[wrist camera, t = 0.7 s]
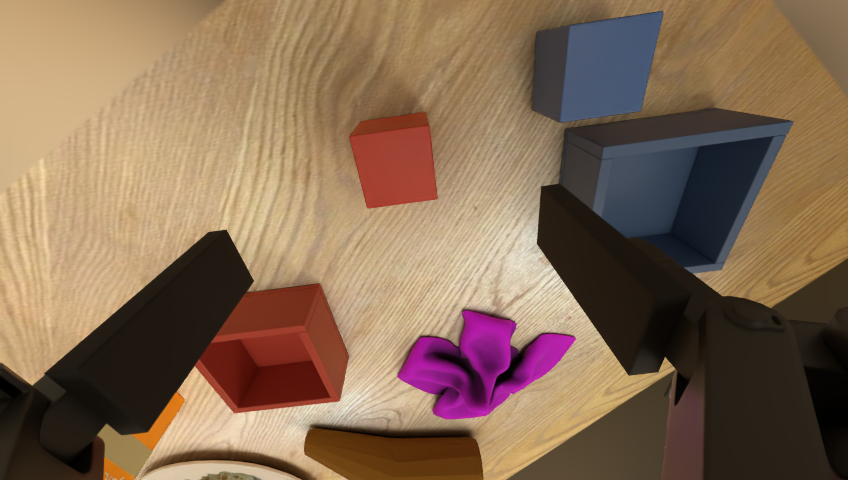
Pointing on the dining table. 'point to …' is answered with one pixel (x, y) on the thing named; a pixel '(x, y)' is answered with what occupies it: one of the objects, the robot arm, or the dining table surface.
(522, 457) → the dining table surface
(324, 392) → the red bin
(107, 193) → the dining table surface
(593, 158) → the blue bin
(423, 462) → the horn
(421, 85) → the dining table surface
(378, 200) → the red block
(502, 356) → the cloth
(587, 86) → the blue block
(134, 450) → the orange juice
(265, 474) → the plated food
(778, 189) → the dining table surface
